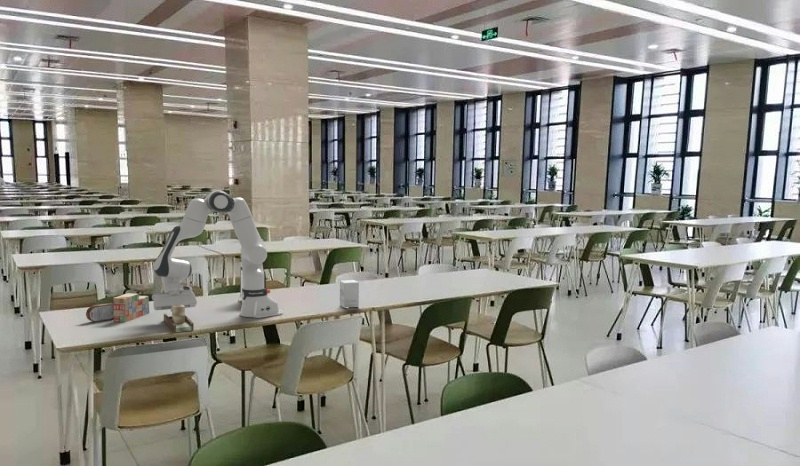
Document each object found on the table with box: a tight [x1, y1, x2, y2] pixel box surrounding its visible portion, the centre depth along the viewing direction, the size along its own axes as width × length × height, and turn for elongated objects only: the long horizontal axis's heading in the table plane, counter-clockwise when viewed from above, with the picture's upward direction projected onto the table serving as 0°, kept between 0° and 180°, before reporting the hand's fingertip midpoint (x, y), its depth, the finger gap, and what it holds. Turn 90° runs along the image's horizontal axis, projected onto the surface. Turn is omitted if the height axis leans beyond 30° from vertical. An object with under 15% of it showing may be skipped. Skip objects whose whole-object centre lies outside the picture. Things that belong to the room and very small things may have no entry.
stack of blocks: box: [113, 292, 150, 323], centre depth 309 cm, size 21×6×12 cm, turn 171°
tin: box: [85, 302, 114, 323], centre depth 300 cm, size 15×3×8 cm, turn 141°
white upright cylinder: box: [237, 259, 267, 302], centre depth 352 cm, size 17×16×30 cm
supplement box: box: [339, 279, 360, 309], centre depth 346 cm, size 9×9×15 cm
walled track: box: [163, 313, 195, 333], centre depth 294 cm, size 9×26×4 cm, turn 31°
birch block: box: [171, 305, 186, 324], centre depth 293 cm, size 5×5×8 cm
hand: (177, 315), depth 296 cm, fingers closed
